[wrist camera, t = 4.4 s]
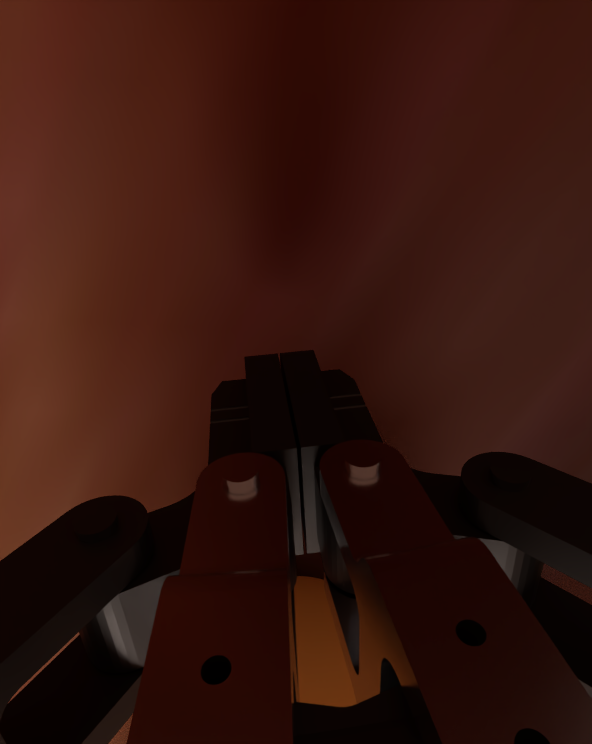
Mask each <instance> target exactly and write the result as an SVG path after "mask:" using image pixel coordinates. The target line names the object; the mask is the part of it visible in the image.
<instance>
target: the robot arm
mask: <svg viewBox="0 0 592 744" xmlns="http://www.w3.org/2000/svg"><path fill="white" fill-rule="evenodd" d="M280 365H281V368H280ZM245 371H246V379H241V380H231V381H222V382H221V384H220V385H219V386H218V387H217V389H216V390H215V391H214V392H213V394H212V398H211V419H210V421H211V424H210V439H209V459H208V466H207V467H206V468H205V469H204V470H203V471H202V472H201V474H200V475H199V477H198V480H197V484H196V489H195V491H194V492H193V493H192V494H191V495H189V496H188V497H186V498H184V499H183V500H181V501H179V502H177V503H174V504H172V505H169V506H167V507H164V508H161V509H158V510H155V511H152V512H150V513H147V510H146V509H145V507H144V506H143V505H142V504H141V503H140V502H139V501H137V500H135V499H133V498H130V497H126V496H115V495H114V496H104V497H99V498H95V499H92V500H89V501H86V502H84V503H81V504H80V505H78V506H76V507H74V508H72V509H71V510H69V511H68V512H66V513H65V514H64V515H62V516H61V517H59V518H58V519H57V520H55V521H54V522H53V523H51V524H50V525H49V526H47V527H46V528H45V529H43V530H42V531H40V532H39V533H38V534H36V535H35V536H34V537H32V538H31V539H30V540H28V541H27V542H26V543H24V544H23V545H21V546H20V547H19V548H17V549H16V550H15V551H13V552H12V553H11V554H9V555H8V556H7V557H5V558H4V559H2V560H1V561H0V744H108V743H109V742H110V741H111V739H112V738H113V737H114V736H115V735H116V733H117V732H118V731H119V730H120V728H121V727H122V726H123V725H124V724H125V722H126V721H127V720H128V719H129V718H130V716H131V715H132V714H133V717H132V721H131V726H130V730H129V735H128V739H127V744H592V605H591V604H589V603H587V602H585V601H583V600H581V599H580V598H578V597H576V596H574V595H572V594H571V593H569V592H567V591H565V590H563V589H561V588H560V587H558V586H556V585H554V584H552V583H550V582H549V581H547V580H545V579H543V578H541V573H542V569H543V564H544V563H545V564H547V565H549V566H551V567H553V568H554V569H556V570H558V571H560V572H562V573H564V574H566V575H568V576H570V577H572V578H573V579H575V580H577V581H579V582H581V583H583V584H585V585H587V586H589V587H590V588H592V484H591V483H589V482H586V481H584V480H581V479H579V478H576V477H574V476H571V475H569V474H567V473H564V472H562V471H559V470H557V469H554V468H552V467H549V466H547V465H545V464H542V463H540V462H537V461H535V460H532V459H530V458H527V457H524V456H521V455H517V454H513V453H506V452H489V453H483V454H479V455H476V456H474V457H472V458H471V459H469V460H468V461H467V462H466V463H465V464H464V466H463V468H462V472H461V476H452V475H442V474H433V473H426V472H422V471H418V470H415V469H412V468H410V467H409V465H408V463H407V462H406V460H405V459H404V457H403V456H402V455H401V454H400V453H399V452H398V451H397V450H396V449H394V448H393V447H391V446H389V445H387V444H384V443H383V442H382V439H381V437H380V435H379V433H378V431H377V428H376V426H375V424H374V422H373V420H372V418H371V415H370V413H369V411H368V409H367V407H366V406H365V402H364V400H363V398H362V396H361V395H360V391H359V389H358V387H357V385H356V382H355V380H354V379H353V378H351V377H350V376H348V375H347V374H346V373H344V372H343V371H341V370H340V369H338V370H328V371H321V370H320V367H319V364H318V362H317V359H316V356H315V353H314V351H313V350H308V351H298V352H288V353H280V363H279V358H278V354H268V355H258V356H248V357H245ZM301 522H302V523H301ZM302 527H303V533H304V538H305V544H306V550H307V554H308V553H316V552H321V557H322V562H323V568H324V589H325V593H326V597H327V600H328V604H329V607H330V610H331V614H332V617H333V621H334V624H335V627H336V631H337V634H338V638H339V641H340V645H341V648H342V651H343V655H344V658H345V662H346V665H347V668H348V672H349V675H350V679H351V682H352V685H353V689H354V693H355V698H356V703H357V704H355V705H352V706H348V707H336V706H327V705H319V704H310V703H302V702H300V697H299V677H298V656H297V635H296V614H295V594H294V586H295V584H296V579H297V570H296V557H295V555H302V554H303V538H302ZM78 632H79V634H80V635H79V636H78V637H77V638H76V639H74V640H73V641H72V642H71V643H70V644H69V645H68V646H67V647H66V648H65V649H64V650H63V651H62V652H61V653H60V654H59V655H58V656H57V657H56V658H55V659H54V660H53V661H52V662H51V663H50V664H49V665H47V666H46V667H45V668H44V669H43V670H42V671H41V672H40V673H39V674H38V675H37V676H36V677H35V678H34V679H33V680H32V681H31V682H30V683H29V684H28V685H27V686H26V687H25V688H24V689H23V690H22V691H20V692H19V693H18V694H17V695H16V696H15V697H14V698H13V699H12V700H11V701H10V699H11V698H12V697H13V695H14V694H15V693H16V692H17V691H18V690H19V688H20V687H21V686H22V685H23V684H25V683H26V682H27V681H28V680H29V679H30V678H31V677H32V676H33V675H34V674H35V673H36V672H37V671H38V670H39V669H40V668H41V667H42V666H43V665H44V664H45V663H47V662H48V661H49V660H50V659H51V658H52V657H53V656H54V655H55V654H56V653H57V652H58V651H59V650H60V649H61V648H62V647H63V646H64V645H65V644H66V643H67V642H68V641H70V640H71V639H72V638H73V637H74V636H75V635H76V634H77V633H78ZM9 701H10V702H9ZM8 702H9V703H8Z"/></svg>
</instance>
